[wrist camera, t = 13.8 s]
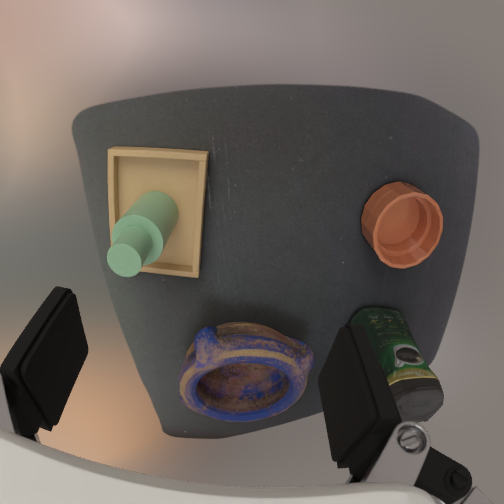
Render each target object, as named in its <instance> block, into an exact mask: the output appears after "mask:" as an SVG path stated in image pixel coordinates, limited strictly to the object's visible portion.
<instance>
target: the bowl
mask: <svg viewBox="0 0 504 504" xmlns="http://www.w3.org/2000/svg"><path fill="white" fill-rule="evenodd" d="M313 365H314V353H313V351H312V349H311V348H310V347H309V346H308V345H307V344H306V343H305V342H303V341H300V340H296V339H293V338H291V337H287V336H285V335H282V334H281V333H280V332H278V331H276V330H274V329H272V328H270V327H268V326H265V325H261V324H257V323H251V322H230V323H225V324H221V325H218V326H215V327H213V326H208V327H204V328H202V329H201V330H200V331H199V332H198V333H197V334H196V335H195V339H194V342H193V343H192V345H191V346H190V348H189V349H188V351H187V353H186V356H185V359H184V362H183V364H182V367H181V369H180V372H179V378H178V380H179V390H180V392H179V397H180V401H181V402H182V403H184V404H185V405H186V406H187V407H188V408H190V409H192V410H194V411H196V412H198V413H201V414H203V415H206V416H209V417H212V418H215V419H218V420H223V421H230V422H249V421H255V420H260V419H265V418H268V417H272V416H275V415H278V414H280V413H282V412H284V411H286V410H287V409H288V408H289V407H290V406H291V405H293V404H294V403H295V402H296V401H297V400H298V399H299V398H300V396H301V395H302V394H303V392H304V390H305V387H306V384H307V378H308V375H309V372H310V371H311V369H312V367H313Z"/></svg>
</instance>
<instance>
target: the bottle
mask: <svg viewBox="0 0 504 504" xmlns="http://www.w3.org/2000/svg"><path fill="white" fill-rule="evenodd" d="M177 220H178V208H177V205H176V203H175V202H174V200H173V199H172V198H171V197H170V196H169V195H167V194H165V193H163V192H160V191H150V192H147V193H145V194H143V195H142V196H141V197H140V198H139V199H138V200H137V201H136V202H135V203H134V204H133V205H132V206H131V207H130V208H129V210H128V211H127V212H126V213H125V214H124V215H123V216H122V217H121V218H120V219H119V220H118V222H117V223H116V224H115V226H114V228H113V231H112V243H113V245H112V246H111V248H110V249H109V251H108V253H107V261H108V264H109V266H110V268H111V269H112V270H113V271H114V272H115V273H116V274H118V275H120V276H123V277H132V276H134V275H136V274H137V273H139V271H140V269H141V268H142V266H143V265H148V264H151V263H153V262H155V261H156V260H157V259H158V258H159V257H160V255H161V253H162V251H163V249H164V247H165V245H166V243H167V241H168V239H169V237H170V235H171V233H172V231H173V229H174V227H175V225H176V223H177Z"/></svg>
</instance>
